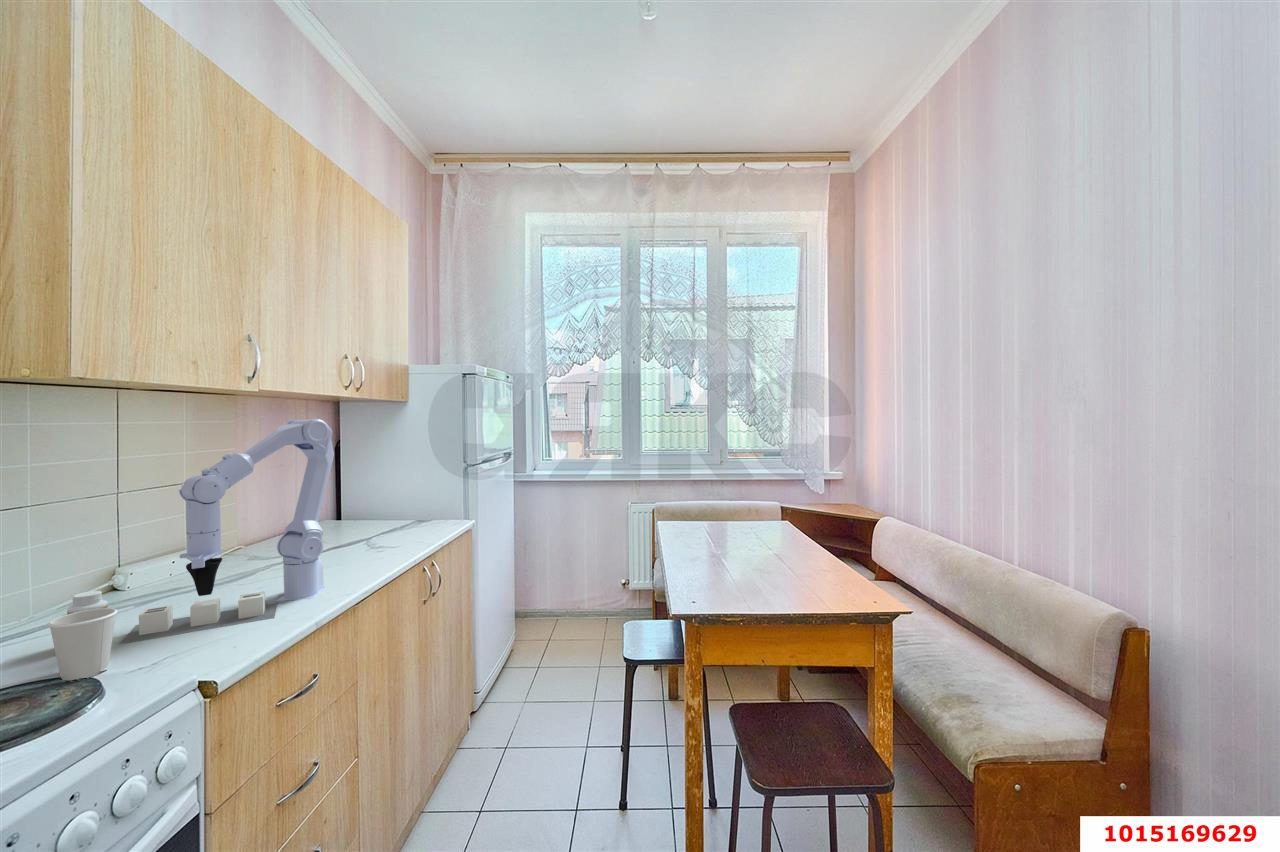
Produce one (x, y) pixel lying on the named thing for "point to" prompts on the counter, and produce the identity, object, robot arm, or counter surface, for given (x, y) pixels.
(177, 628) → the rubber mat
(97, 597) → the supplement bottle
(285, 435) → the robot arm
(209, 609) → the plain block
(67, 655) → the dixie cup
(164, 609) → the two bar block
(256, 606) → the one bar block
